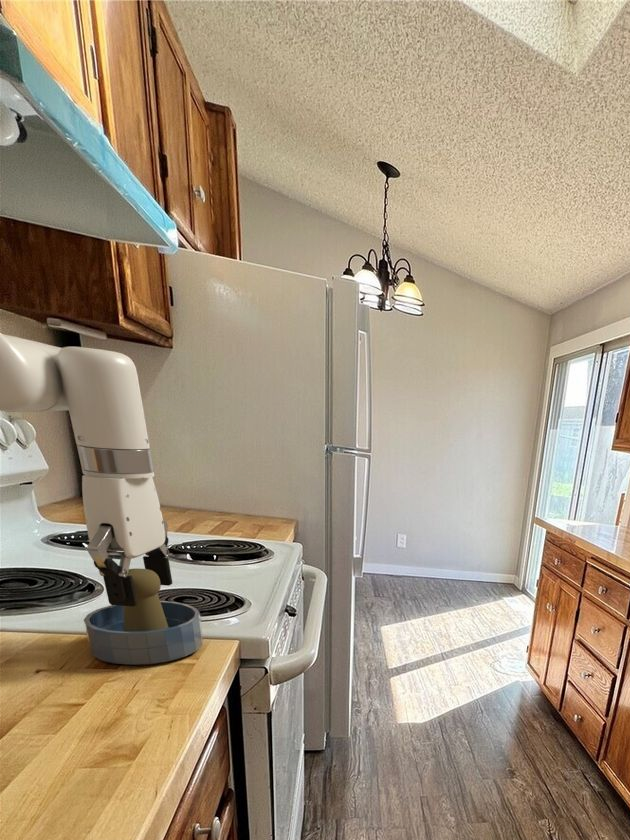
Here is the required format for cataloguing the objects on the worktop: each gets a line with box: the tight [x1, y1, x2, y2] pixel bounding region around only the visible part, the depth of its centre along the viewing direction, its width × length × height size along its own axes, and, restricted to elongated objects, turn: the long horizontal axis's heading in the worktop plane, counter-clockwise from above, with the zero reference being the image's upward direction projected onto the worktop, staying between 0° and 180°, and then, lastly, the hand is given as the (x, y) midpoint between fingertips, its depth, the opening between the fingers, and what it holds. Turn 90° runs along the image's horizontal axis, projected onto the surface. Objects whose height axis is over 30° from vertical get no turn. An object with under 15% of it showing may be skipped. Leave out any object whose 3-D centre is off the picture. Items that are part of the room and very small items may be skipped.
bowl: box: [83, 600, 204, 666], centre depth 79 cm, size 14×14×5 cm
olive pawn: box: [123, 567, 169, 632], centre depth 77 cm, size 6×6×11 cm
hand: (143, 594), depth 77 cm, fingers open, 9 cm apart
